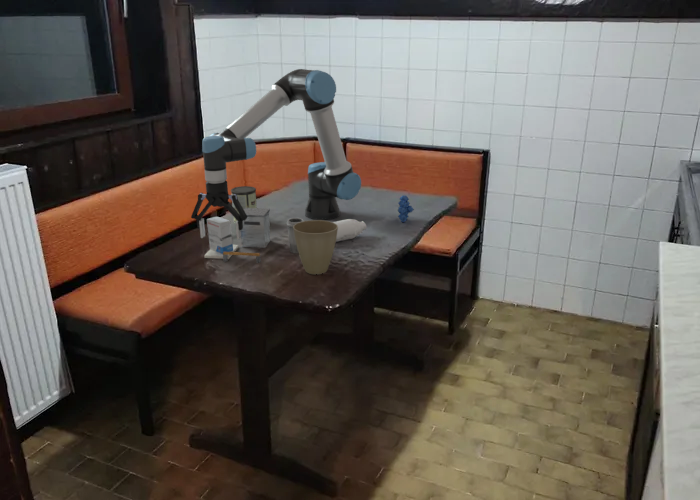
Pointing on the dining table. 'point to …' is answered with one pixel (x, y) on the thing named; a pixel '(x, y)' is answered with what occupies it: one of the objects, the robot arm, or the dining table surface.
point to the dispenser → (253, 232)
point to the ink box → (220, 234)
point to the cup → (291, 235)
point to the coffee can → (245, 197)
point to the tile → (218, 253)
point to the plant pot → (315, 244)
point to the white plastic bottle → (349, 229)
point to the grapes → (404, 208)
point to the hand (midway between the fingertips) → (220, 237)
